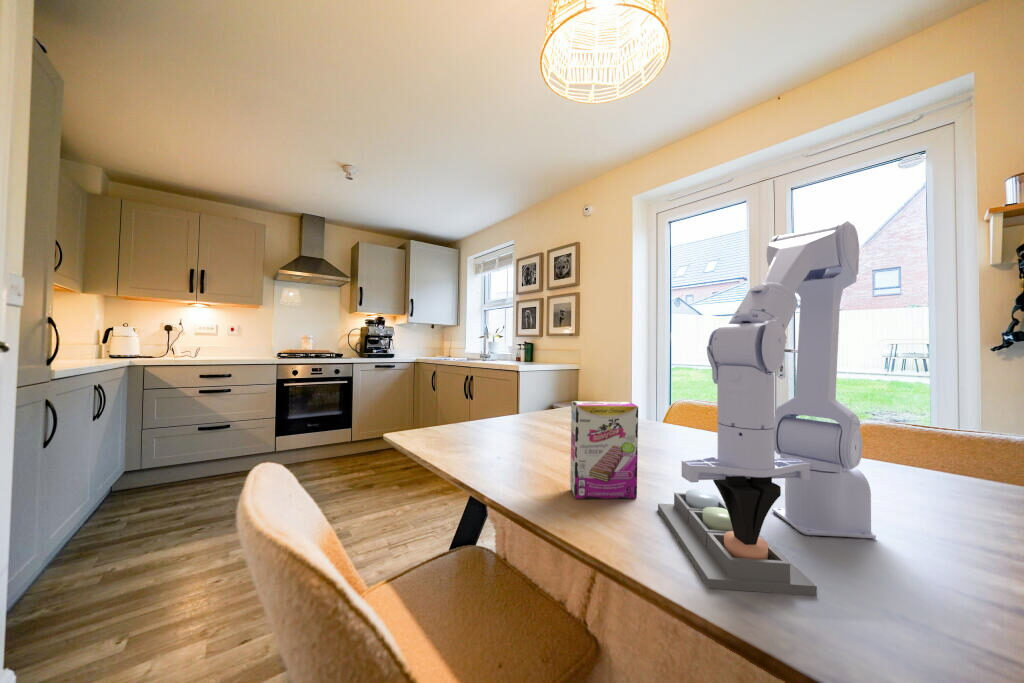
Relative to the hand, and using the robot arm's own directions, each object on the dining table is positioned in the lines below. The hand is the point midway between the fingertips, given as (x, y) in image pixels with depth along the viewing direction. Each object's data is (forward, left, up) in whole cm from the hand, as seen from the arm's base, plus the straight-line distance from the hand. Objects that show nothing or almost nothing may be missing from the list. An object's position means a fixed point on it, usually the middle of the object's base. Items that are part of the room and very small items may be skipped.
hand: (745, 540), depth 44 cm
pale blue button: (0, -13, -2) cm, 13 cm away
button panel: (0, -7, -4) cm, 7 cm away
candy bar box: (+13, -22, -4) cm, 26 cm away
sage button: (0, -7, -2) cm, 7 cm away
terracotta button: (0, 0, -2) cm, 2 cm away
